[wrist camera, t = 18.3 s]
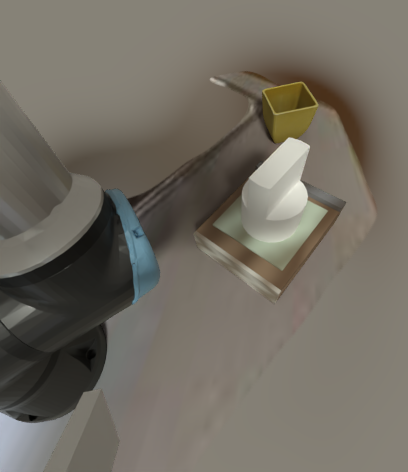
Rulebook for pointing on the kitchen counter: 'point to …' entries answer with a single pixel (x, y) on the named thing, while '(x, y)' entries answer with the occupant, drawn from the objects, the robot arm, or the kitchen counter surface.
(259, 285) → the dock
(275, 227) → the cylinder with rectangular tab
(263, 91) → the flower pot
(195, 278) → the kitchen counter surface
